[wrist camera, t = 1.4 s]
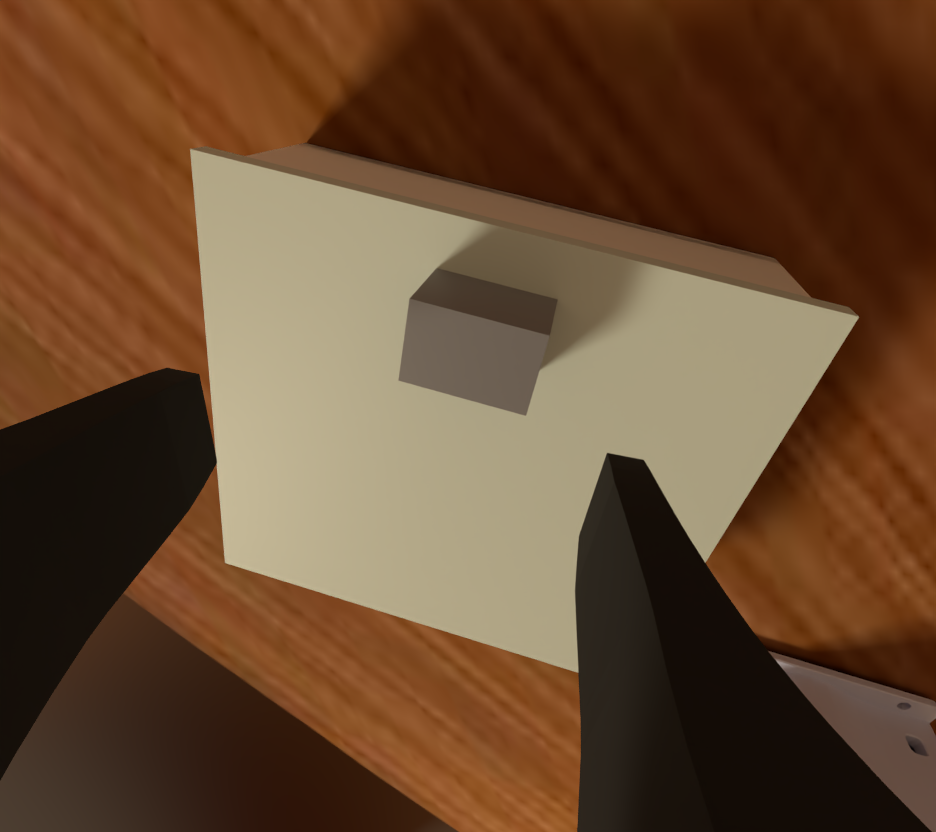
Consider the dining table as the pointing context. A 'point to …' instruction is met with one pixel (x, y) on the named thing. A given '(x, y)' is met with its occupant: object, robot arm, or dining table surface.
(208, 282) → the lid
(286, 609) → the dining table surface
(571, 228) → the carton
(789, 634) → the dining table surface
